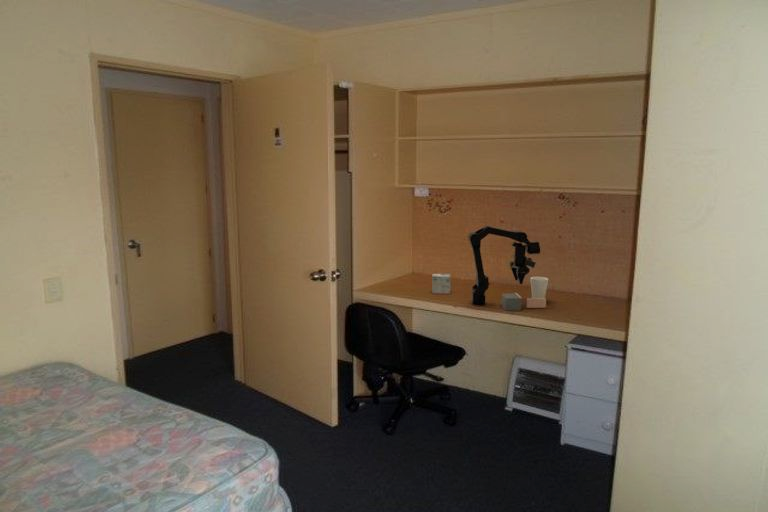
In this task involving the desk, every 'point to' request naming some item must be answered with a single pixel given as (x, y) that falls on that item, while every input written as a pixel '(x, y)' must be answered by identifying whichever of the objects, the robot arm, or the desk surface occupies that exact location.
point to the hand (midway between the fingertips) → (518, 282)
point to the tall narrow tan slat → (536, 303)
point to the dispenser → (511, 302)
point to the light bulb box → (441, 283)
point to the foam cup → (538, 286)
